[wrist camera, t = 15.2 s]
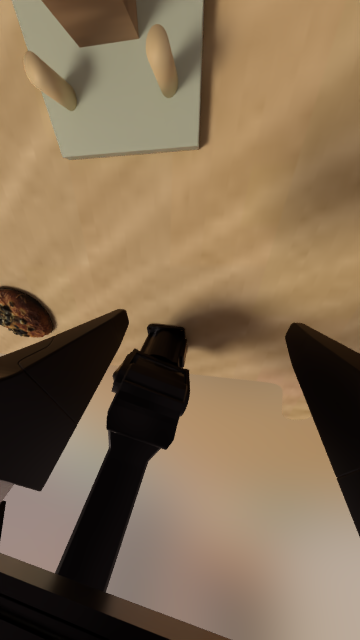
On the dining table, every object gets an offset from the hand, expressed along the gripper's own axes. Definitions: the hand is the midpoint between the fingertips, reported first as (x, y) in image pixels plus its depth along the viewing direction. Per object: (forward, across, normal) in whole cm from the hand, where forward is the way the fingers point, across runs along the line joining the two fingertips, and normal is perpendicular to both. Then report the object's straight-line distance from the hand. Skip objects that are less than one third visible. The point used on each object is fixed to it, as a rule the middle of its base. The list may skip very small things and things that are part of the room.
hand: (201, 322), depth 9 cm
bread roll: (+13, +34, +11) cm, 39 cm away
